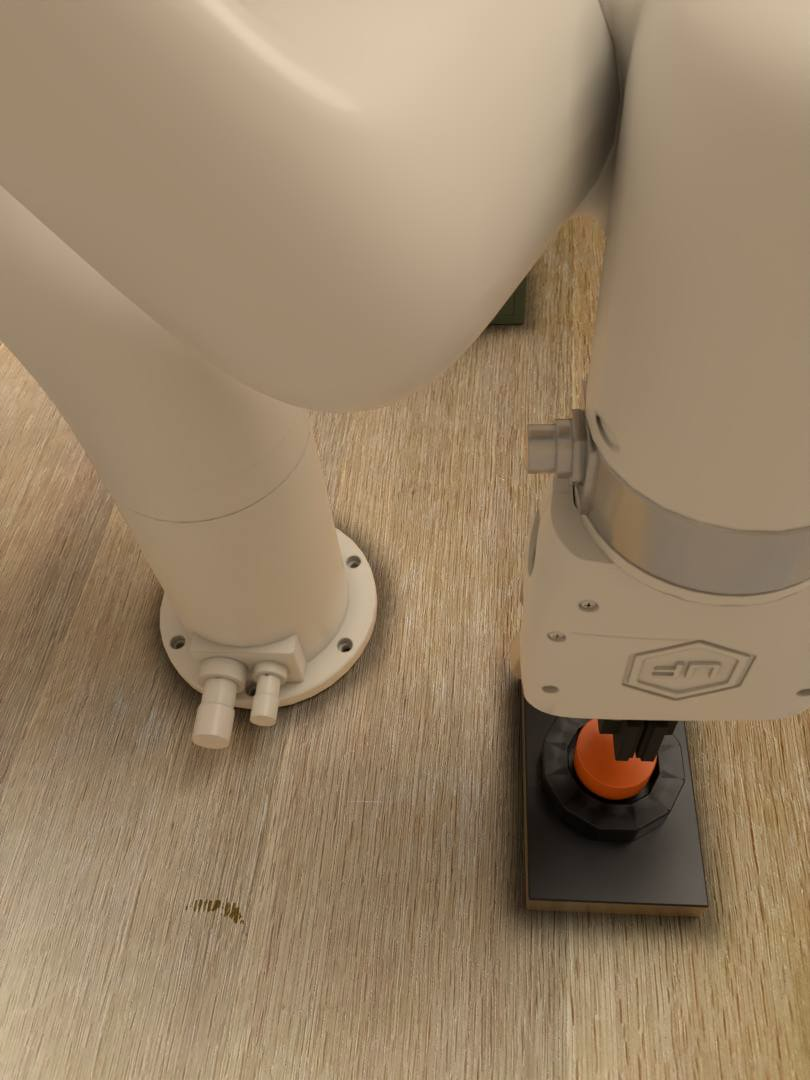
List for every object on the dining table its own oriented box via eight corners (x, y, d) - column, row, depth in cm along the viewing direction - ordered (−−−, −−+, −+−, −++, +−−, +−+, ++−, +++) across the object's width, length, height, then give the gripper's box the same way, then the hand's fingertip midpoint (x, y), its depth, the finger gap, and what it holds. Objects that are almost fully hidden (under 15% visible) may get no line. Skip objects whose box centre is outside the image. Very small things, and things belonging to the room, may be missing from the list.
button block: (699, 917, 41) (718, 898, 38) (526, 910, 42) (530, 890, 39) (670, 681, 48) (684, 647, 45) (521, 678, 49) (524, 644, 45)
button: (654, 801, 41) (661, 789, 39) (575, 799, 41) (579, 786, 40) (646, 727, 43) (652, 713, 41) (571, 725, 43) (574, 711, 42)
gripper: (437, 577, 22) (457, 810, 37) (1071, 578, 21) (826, 819, 36) (444, 364, 26) (460, 650, 41) (971, 353, 25) (790, 653, 40)
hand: (630, 728), depth 39 cm, fingers closed
